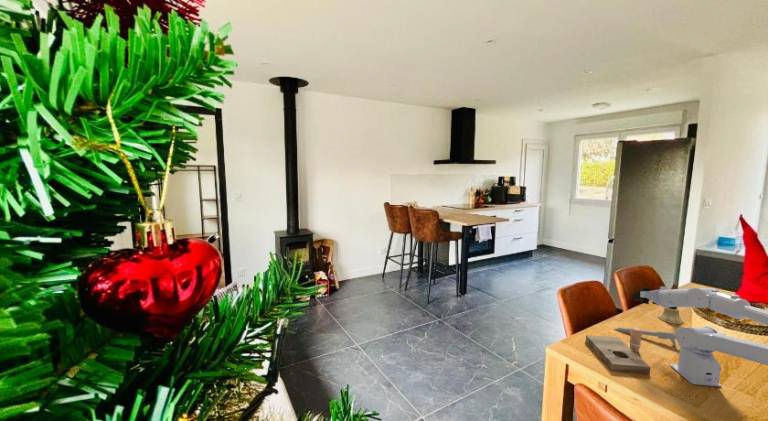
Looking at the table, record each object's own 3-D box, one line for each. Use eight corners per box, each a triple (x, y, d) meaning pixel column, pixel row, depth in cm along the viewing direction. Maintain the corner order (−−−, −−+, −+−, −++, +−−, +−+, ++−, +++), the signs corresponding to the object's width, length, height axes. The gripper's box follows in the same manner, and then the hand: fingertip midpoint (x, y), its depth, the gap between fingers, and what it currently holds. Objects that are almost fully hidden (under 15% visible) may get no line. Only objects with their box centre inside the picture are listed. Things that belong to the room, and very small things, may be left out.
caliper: (682, 347, 116) (684, 331, 116) (682, 349, 116) (684, 332, 115) (614, 329, 130) (615, 314, 129) (613, 330, 129) (615, 315, 128)
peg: (641, 353, 112) (644, 332, 111) (632, 352, 113) (634, 331, 112) (636, 348, 116) (638, 327, 114) (626, 347, 116) (629, 327, 115)
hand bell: (655, 313, 143) (660, 279, 141) (680, 318, 139) (685, 283, 136) (660, 321, 136) (664, 285, 134) (686, 326, 132) (691, 289, 129)
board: (649, 374, 101) (650, 367, 101) (611, 370, 103) (612, 363, 102) (617, 343, 119) (617, 337, 118) (585, 341, 120) (586, 334, 120)
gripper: (697, 290, 107) (661, 291, 120) (655, 281, 107) (623, 284, 120) (699, 311, 105) (662, 311, 118) (656, 303, 105) (624, 303, 118)
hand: (643, 298), depth 119 cm, fingers open, 7 cm apart
